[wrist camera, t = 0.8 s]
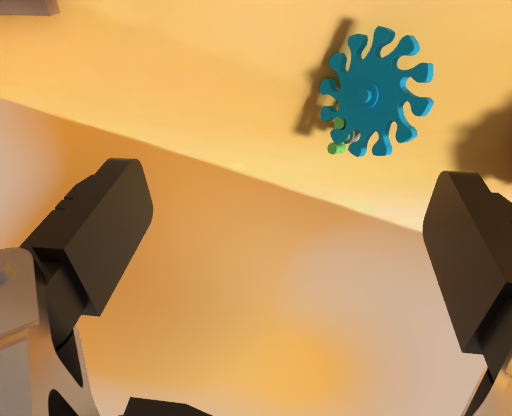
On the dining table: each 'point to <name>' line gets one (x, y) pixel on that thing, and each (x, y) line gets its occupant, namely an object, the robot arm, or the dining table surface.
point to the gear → (373, 94)
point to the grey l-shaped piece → (29, 7)
